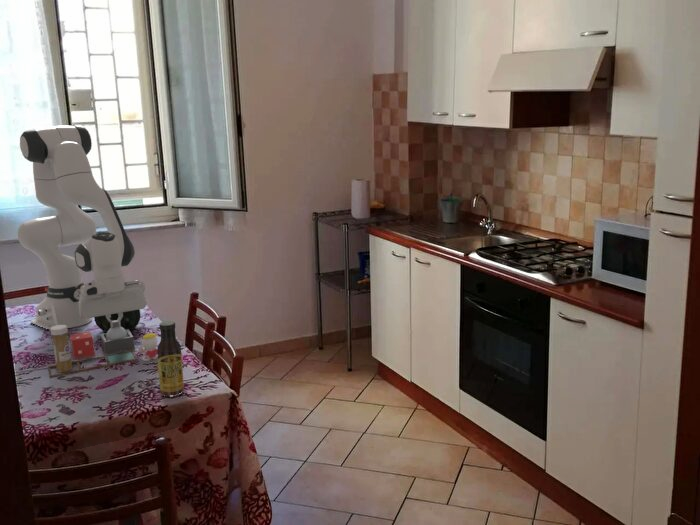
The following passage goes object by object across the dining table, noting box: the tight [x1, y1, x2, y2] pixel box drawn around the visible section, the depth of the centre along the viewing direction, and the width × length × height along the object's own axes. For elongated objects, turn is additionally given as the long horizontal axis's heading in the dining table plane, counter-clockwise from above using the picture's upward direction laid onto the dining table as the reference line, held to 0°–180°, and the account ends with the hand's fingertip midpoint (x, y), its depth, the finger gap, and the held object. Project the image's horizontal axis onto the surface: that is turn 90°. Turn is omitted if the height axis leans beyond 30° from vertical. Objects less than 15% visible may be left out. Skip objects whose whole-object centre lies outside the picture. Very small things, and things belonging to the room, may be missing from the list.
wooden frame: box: [47, 349, 139, 379], centre depth 212 cm, size 25×9×1 cm, turn 117°
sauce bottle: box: [156, 320, 185, 396], centre depth 186 cm, size 7×6×20 cm
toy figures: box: [137, 332, 158, 362], centre depth 214 cm, size 12×4×8 cm, turn 111°
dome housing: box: [100, 329, 135, 355], centre depth 225 cm, size 9×9×4 cm
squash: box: [93, 309, 141, 333], centre depth 240 cm, size 14×15×15 cm
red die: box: [69, 331, 96, 359], centre depth 221 cm, size 6×6×6 cm
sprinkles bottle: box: [49, 325, 73, 373], centre depth 207 cm, size 5×5×13 cm
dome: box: [106, 326, 127, 341], centre depth 225 cm, size 6×6×6 cm
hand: (115, 326), depth 224 cm, fingers closed, pressing on dome
